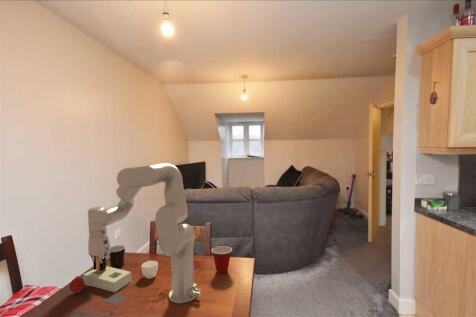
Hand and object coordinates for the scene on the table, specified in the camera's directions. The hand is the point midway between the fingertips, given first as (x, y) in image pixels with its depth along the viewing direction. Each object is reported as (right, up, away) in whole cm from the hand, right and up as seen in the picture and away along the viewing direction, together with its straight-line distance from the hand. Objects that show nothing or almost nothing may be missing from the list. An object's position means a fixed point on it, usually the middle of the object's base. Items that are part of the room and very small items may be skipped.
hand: (99, 268), depth 125 cm
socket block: (+5, -6, -1) cm, 8 cm away
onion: (-5, -7, -9) cm, 13 cm away
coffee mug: (+1, -5, +14) cm, 15 cm away
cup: (+23, -6, +5) cm, 25 cm away
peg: (0, -4, 0) cm, 4 cm away
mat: (+15, -7, -15) cm, 22 cm away
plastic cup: (+60, -5, +8) cm, 60 cm away
